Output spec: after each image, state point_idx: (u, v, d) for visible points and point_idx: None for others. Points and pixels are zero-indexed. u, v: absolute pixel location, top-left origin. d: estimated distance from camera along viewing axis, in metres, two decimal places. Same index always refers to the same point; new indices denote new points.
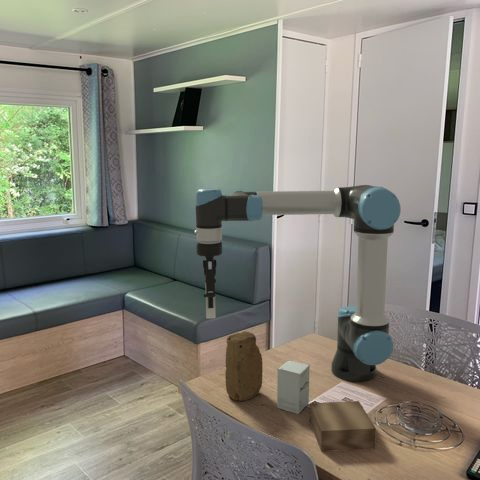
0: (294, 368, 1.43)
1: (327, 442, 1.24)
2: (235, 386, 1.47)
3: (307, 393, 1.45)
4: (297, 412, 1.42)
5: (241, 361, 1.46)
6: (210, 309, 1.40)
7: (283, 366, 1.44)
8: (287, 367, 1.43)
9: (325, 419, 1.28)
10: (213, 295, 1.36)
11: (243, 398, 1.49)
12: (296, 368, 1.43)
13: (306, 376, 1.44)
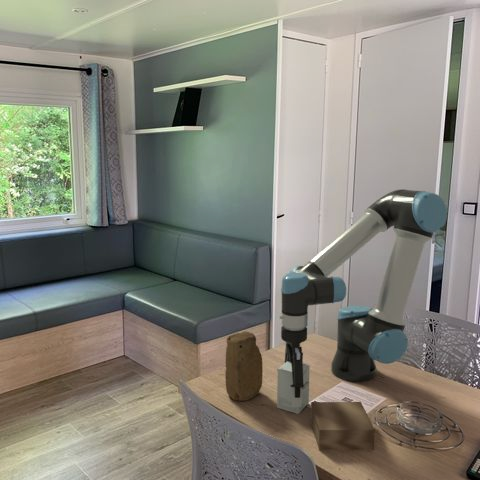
0: None
1: (325, 441, 1.24)
2: (235, 386, 1.47)
3: (307, 393, 1.45)
4: (297, 412, 1.42)
5: (241, 361, 1.46)
6: (296, 398, 1.40)
7: (283, 366, 1.44)
8: (287, 367, 1.43)
9: (325, 418, 1.29)
10: (301, 386, 1.36)
11: (243, 398, 1.49)
12: None
13: (306, 376, 1.44)
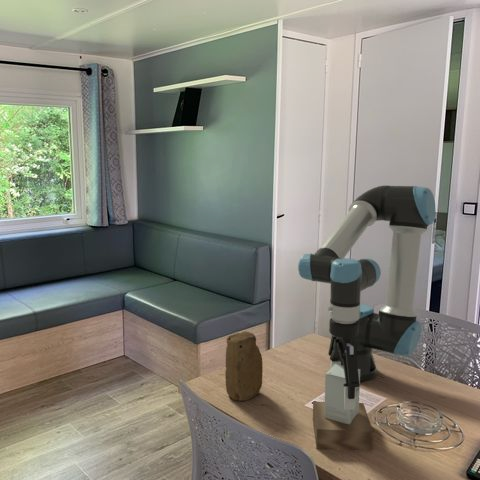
0: None
1: (322, 441, 1.24)
2: (235, 386, 1.47)
3: (357, 401, 1.29)
4: (348, 422, 1.26)
5: (241, 361, 1.46)
6: (350, 399, 1.22)
7: (331, 371, 1.28)
8: (335, 372, 1.27)
9: (324, 418, 1.29)
10: (357, 386, 1.18)
11: (243, 398, 1.49)
12: None
13: None
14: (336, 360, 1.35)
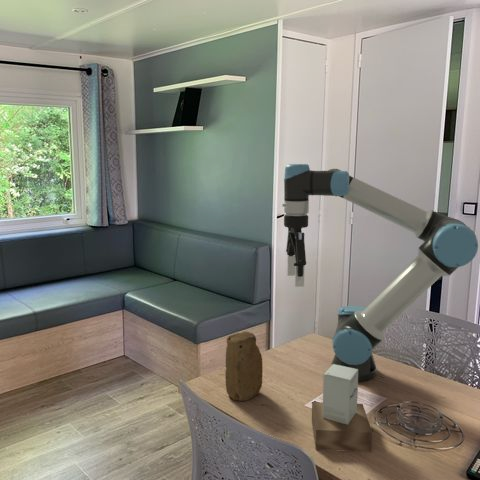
0: (342, 373, 1.26)
1: (322, 441, 1.24)
2: (235, 386, 1.47)
3: (355, 401, 1.29)
4: (346, 423, 1.26)
5: (241, 361, 1.46)
6: (299, 277, 1.48)
7: (329, 371, 1.28)
8: (334, 372, 1.27)
9: (323, 418, 1.29)
10: (304, 263, 1.44)
11: (243, 398, 1.49)
12: (345, 373, 1.27)
13: (355, 382, 1.28)
14: (292, 255, 1.61)
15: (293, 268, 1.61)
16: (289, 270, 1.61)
